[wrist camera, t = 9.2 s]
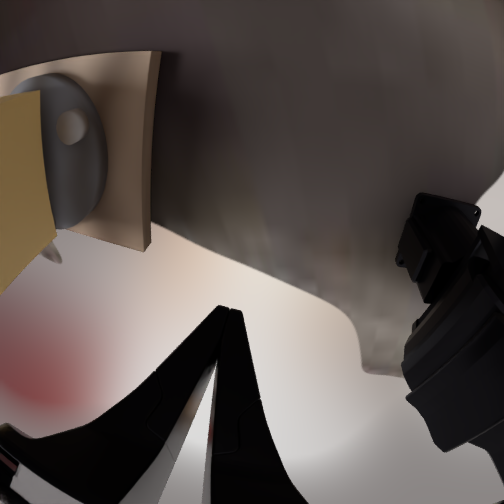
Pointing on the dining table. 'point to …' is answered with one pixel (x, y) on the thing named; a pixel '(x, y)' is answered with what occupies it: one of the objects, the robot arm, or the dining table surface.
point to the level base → (124, 137)
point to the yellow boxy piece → (22, 186)
